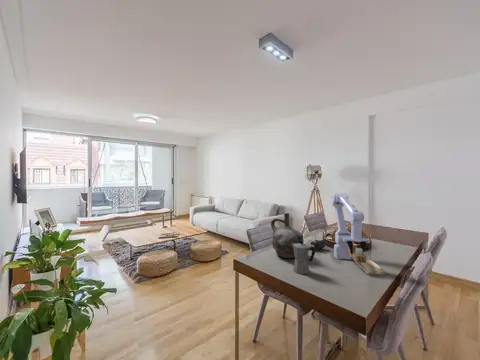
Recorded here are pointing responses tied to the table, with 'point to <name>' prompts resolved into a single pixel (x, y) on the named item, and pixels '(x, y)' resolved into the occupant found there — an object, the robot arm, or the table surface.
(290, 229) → the vessel
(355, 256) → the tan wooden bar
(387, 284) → the table surface
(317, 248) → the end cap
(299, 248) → the coffeepot
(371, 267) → the dock
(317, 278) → the table surface
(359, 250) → the pale green cube
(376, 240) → the table surface
